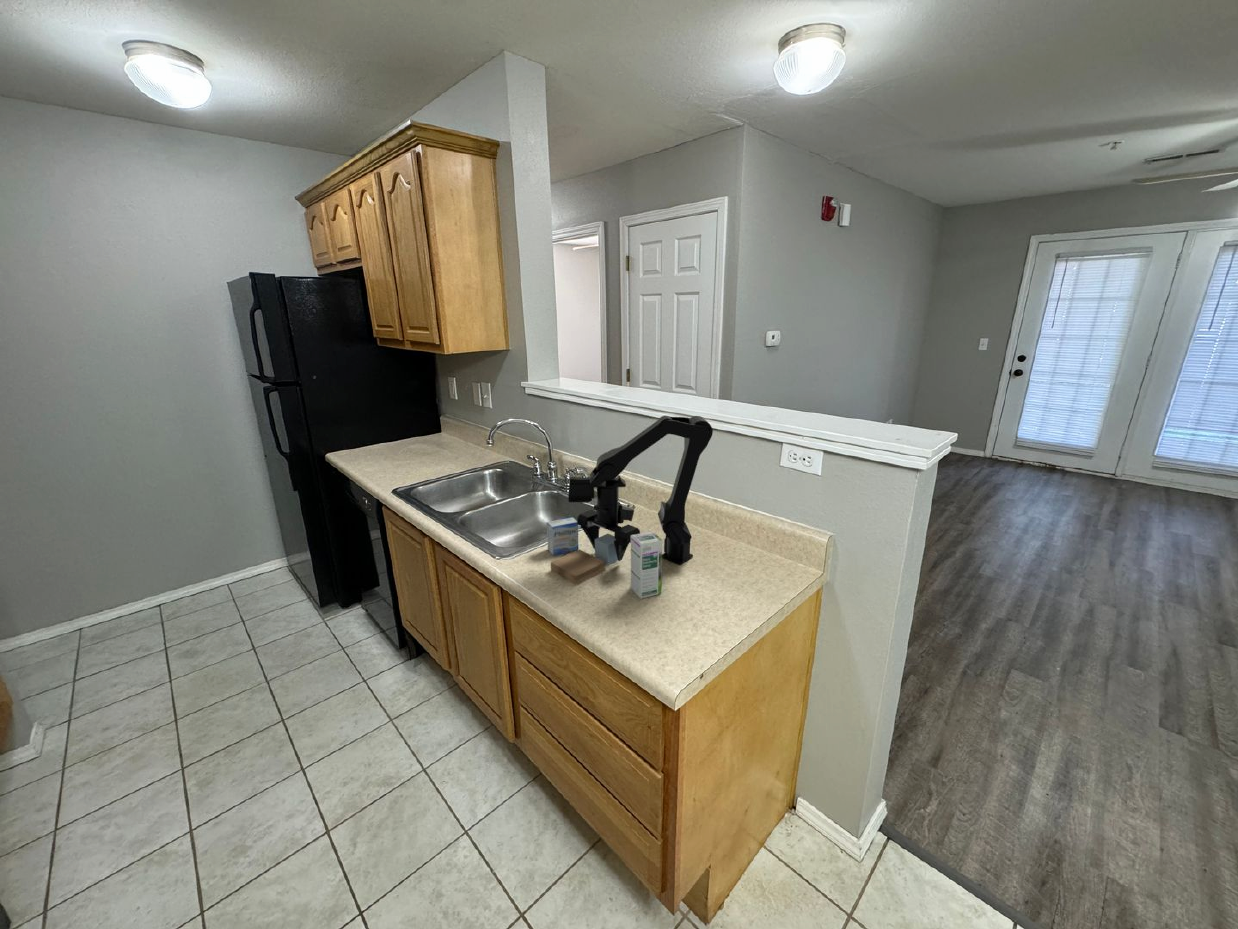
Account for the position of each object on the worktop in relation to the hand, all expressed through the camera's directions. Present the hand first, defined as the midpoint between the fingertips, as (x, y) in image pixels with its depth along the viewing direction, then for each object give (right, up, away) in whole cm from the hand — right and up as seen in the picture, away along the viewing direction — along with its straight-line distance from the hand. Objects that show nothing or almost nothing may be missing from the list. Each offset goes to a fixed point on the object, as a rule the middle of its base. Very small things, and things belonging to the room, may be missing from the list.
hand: (607, 554), depth 137 cm
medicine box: (-13, 0, +6) cm, 14 cm away
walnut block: (-8, -4, -6) cm, 10 cm away
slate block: (0, -1, 0) cm, 1 cm away
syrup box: (+10, -6, -15) cm, 19 cm away
